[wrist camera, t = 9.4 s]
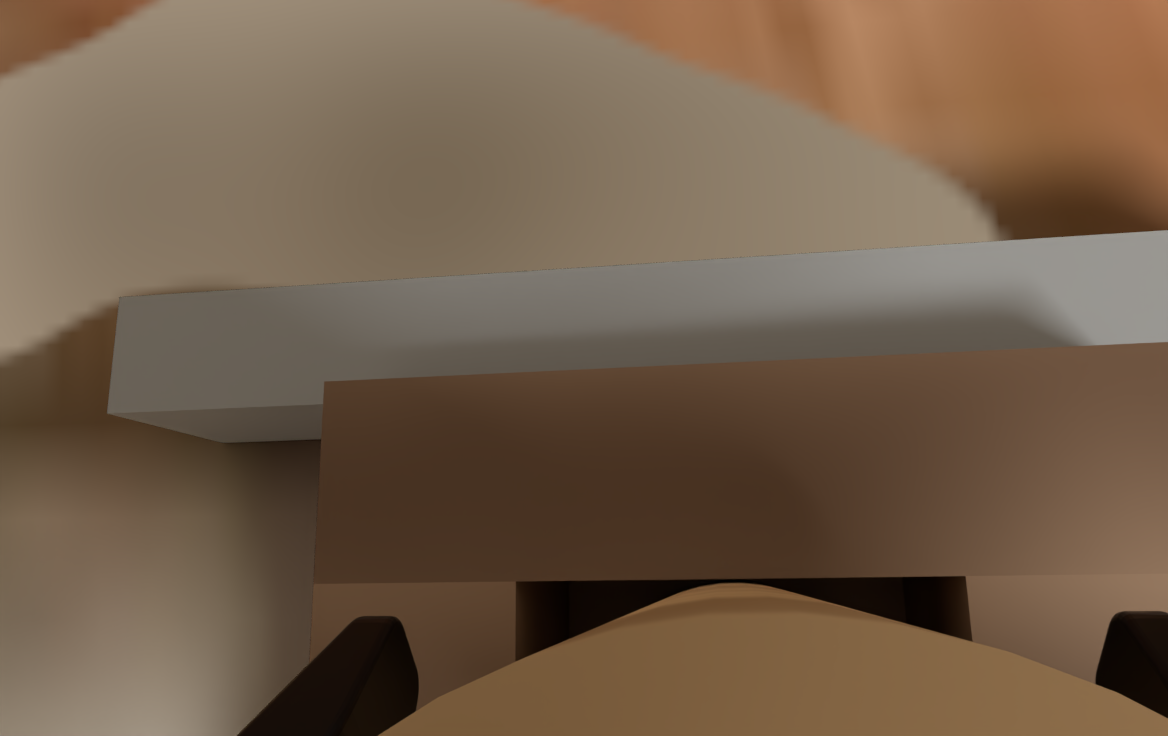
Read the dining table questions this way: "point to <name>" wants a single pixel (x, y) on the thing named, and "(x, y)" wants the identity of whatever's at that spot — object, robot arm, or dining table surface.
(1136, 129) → the dining table surface
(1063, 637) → the socket block
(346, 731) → the robot arm
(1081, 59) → the dining table surface
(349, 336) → the stop rail
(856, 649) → the dowel
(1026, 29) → the dining table surface
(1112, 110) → the dining table surface
